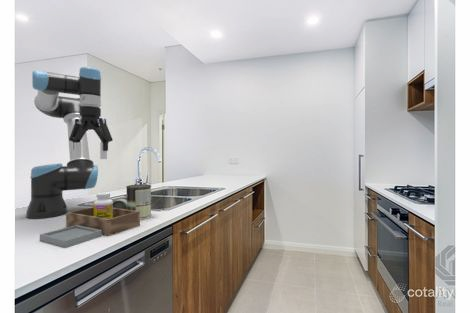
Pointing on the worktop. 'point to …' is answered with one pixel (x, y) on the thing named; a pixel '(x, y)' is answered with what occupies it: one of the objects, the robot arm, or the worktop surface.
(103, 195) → the supplement bottle
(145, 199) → the coffee can
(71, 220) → the walnut box
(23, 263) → the worktop surface
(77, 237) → the slate tray
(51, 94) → the robot arm
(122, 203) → the ceramic mug
